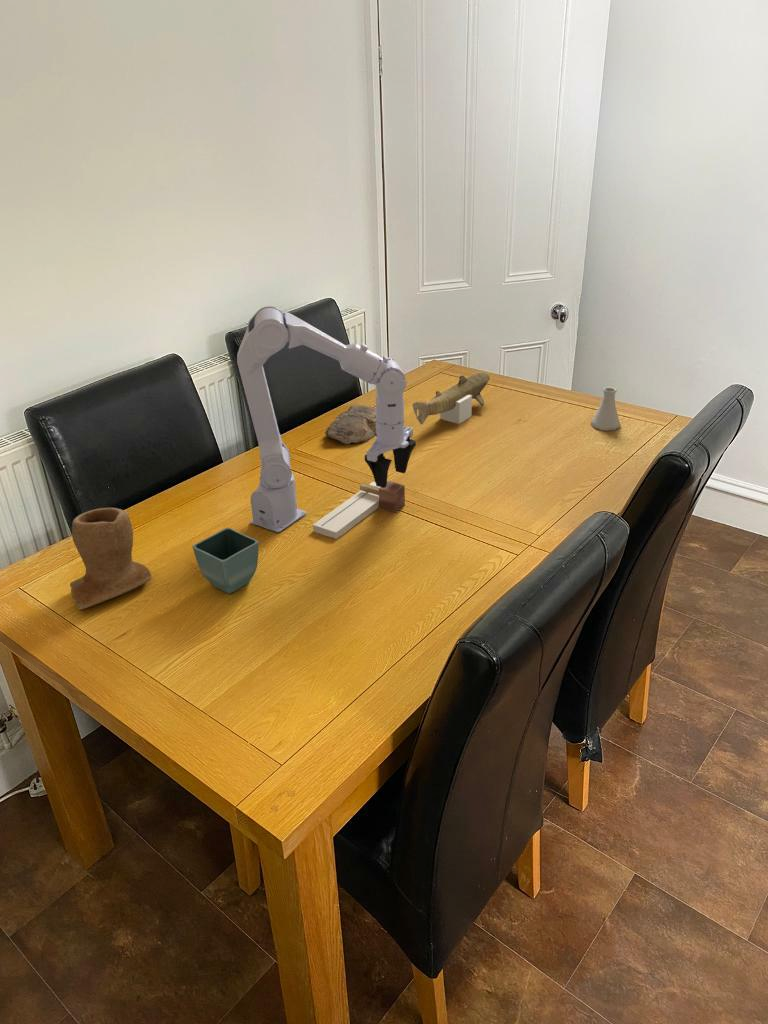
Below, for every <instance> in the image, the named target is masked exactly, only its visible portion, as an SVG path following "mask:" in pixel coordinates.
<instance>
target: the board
mask: <svg viewBox="0 0 768 1024" xmlns="http://www.w3.org/2000/svg"><path fill="white" fill-rule="evenodd" d="M368 485H372V486H375V487H379V486H376V483H375V481H372V482H371V483H369V484H368ZM379 488H380V487H379ZM378 508H379V495H375V494H372V493H369V492H368V493H366V492H365V491H362V490H359V491H357V493H355V494H353V495H352V496H351V497H349V498H348V499H347V500H345V501H344V502H342V503H341V504H340V505H338V506H336V507H335V508H334V509H333V510H331V511H330V512H328V513H327V514H326V515H324V516H323V517H321V518H320V519H319V520H317V521H315V522H314V523H313V524H312V531H313V532H314V533H318V534H320V535H323V536H325V537H329V538H332V539H335V540H338V539H339V538H340V537H342V536H343V535H344V534H345V533H347V532H348V531H350V530H351V529H352V528H354V527H355V526H356V525H357V524H359V523H360V522H361V521H362V520H364V519H365V518H367V517H368V516H369V515H371V514H372V513H373V512H375V510H377V509H378Z"/></svg>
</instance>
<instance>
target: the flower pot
mask: <svg viewBox="0 0 768 1024" xmlns="http://www.w3.org/2000/svg"><path fill="white" fill-rule="evenodd" d="M259 545H260V544H259V540H257V539H255V538H253V537H251V536H248V535H246V534H244V533H241V532H239V531H238V530H236V529H233V528H231V527H226V528H225V527H224V528H223V529H221V530H219V531H218V532H216V533H214V534H211V535H210V536H208V537H206V538H204V539H202V540H201V541H198V542H197V543H195V544H193V545H192V547H191V548H192V550H193V553H194V556H195V560H196V562H197V566H198V568H199V570H200V571H199V572H201V574H202V575H203V577H204V579H206V580H207V581H208V582H209V583H210V585H212V586H213V587H215V588H217V589H220V591H223V592H225V593H226V594H233V593H234V592H236V591H237V590H239V589H241V588H242V587H244V586H246V585H247V584H249V583H250V582H251V580H252V579H253V577H254V575H255V573H256V571H257V568H258V564H259V563H258V562H259Z"/></svg>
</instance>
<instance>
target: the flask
mask: <svg viewBox="0 0 768 1024" xmlns="http://www.w3.org/2000/svg"><path fill="white" fill-rule="evenodd" d="M602 391H603V397H602V400H601V402H600V405H599V407H598V408H597V410H596V412H595V414H594V415H593V418H592V419H591V421H590V424H591V426H592V427H593V428H595V429H597V430H599V431H600V430H601V431H603V432H605V431H615V430H618V429H619V428H621V422H620V418H619V415H618V411H617V408H616V407H617V406H616V393H617V392H618V390H617V389H616V388H615V387H611V386H608V387H604V388H603V389H602Z"/></svg>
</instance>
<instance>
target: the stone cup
mask: <svg viewBox="0 0 768 1024" xmlns="http://www.w3.org/2000/svg"><path fill="white" fill-rule="evenodd" d="M133 531H134V530H133V526H132V522H131V518H130V515H129V514H128V513H127V512H126V511H125V510H124V509H121V508H117V507H103V508H100V507H99V508H96V509H91V510H88V511H86V512H85V511H84V512H82V513H80V514H79V515H77V516H76V517H75V518H74V519H73V521H72V523H71V538H72V541H73V543H74V546H75V548H76V550H77V552H78V554H79V556H80V558H81V561H82V562H83V564H84V568H85V574H84V575H83V576H81V577H80V578H78V579H75V580H72V582H69V586H70V588H71V589H70V592H71V595H72V600H73V601H74V604H75V606H76V608H77V609H78V610H79V611H81V610H85V609H87V608H90V607H92V606H96V605H97V604H101V603H103V602H105V601H108V600H111V599H113V598H116V597H118V596H121V595H123V594H125V593H128V592H130V591H132V590H134V589H137V588H138V587H141V586H142V585H145V584H146V583H148V582H150V580H151V579H152V573H151V571H150V570H149V568H148V567H146V565H144V564H142V563H139V562H137V561H133V556H132V553H133V547H134V545H133V544H134V532H133Z"/></svg>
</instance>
